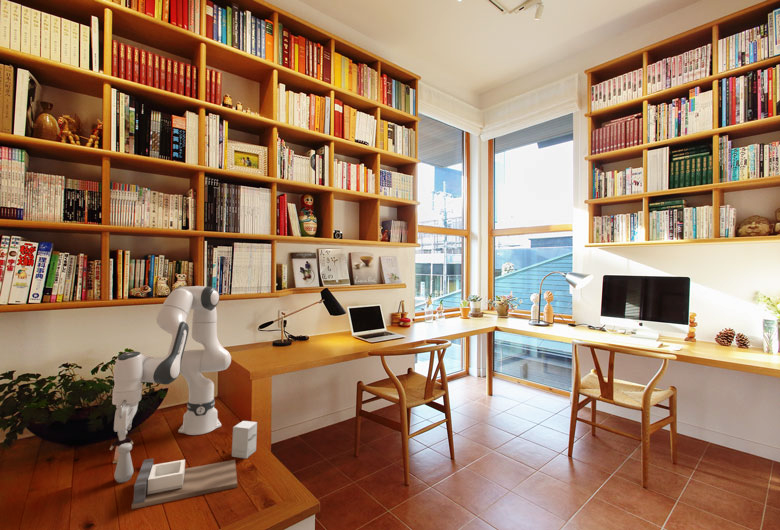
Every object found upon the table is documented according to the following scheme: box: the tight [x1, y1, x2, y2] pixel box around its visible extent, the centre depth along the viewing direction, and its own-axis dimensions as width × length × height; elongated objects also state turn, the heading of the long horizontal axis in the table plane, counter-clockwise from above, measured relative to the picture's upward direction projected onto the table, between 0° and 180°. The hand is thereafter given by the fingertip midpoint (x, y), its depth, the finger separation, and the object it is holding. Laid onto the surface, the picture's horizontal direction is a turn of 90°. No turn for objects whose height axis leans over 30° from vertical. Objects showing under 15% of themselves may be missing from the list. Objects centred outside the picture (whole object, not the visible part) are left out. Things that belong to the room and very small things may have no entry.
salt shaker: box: [113, 442, 134, 484], centre depth 136 cm, size 6×6×13 cm
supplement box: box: [231, 420, 258, 459], centre depth 157 cm, size 7×7×13 cm
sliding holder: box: [147, 459, 186, 495], centre depth 131 cm, size 10×10×5 cm
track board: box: [130, 457, 238, 510], centre depth 134 cm, size 18×32×8 cm, turn 116°
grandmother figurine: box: [109, 430, 134, 464], centre depth 149 cm, size 8×4×13 cm, turn 143°
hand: (125, 434), depth 136 cm, fingers open, 8 cm apart
